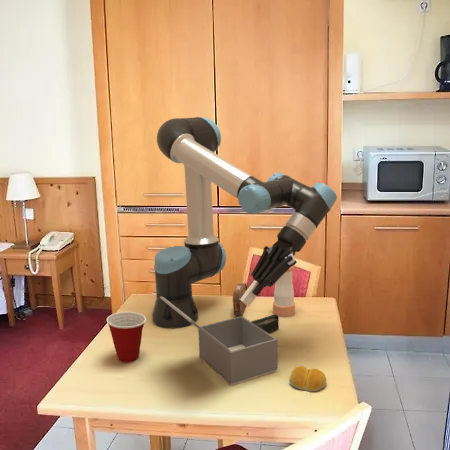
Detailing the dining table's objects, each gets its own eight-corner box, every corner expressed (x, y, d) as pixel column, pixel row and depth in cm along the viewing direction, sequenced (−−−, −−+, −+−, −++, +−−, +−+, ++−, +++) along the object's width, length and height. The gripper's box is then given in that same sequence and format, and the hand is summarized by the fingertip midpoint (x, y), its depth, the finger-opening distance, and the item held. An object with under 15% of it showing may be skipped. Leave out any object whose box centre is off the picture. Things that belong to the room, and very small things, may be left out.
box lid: (196, 323, 142) (195, 325, 142) (161, 295, 135) (159, 297, 135) (230, 350, 126) (228, 352, 126) (191, 319, 119) (189, 322, 119)
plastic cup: (149, 364, 140) (146, 323, 138) (108, 369, 139) (105, 327, 136) (148, 347, 151) (145, 308, 148) (110, 350, 149) (107, 312, 146)
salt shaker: (269, 314, 172) (268, 259, 168) (279, 307, 178) (279, 253, 174) (288, 318, 168) (288, 262, 164) (298, 311, 174) (299, 256, 169)
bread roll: (323, 395, 124) (323, 380, 123) (286, 389, 127) (286, 374, 126) (328, 378, 132) (329, 363, 131) (294, 372, 135) (294, 358, 134)
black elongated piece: (273, 312, 162) (239, 325, 152) (280, 314, 160) (246, 328, 150) (273, 327, 163) (239, 340, 153) (280, 329, 161) (246, 344, 151)
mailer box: (199, 356, 144) (198, 326, 142) (242, 344, 151) (241, 316, 149) (231, 385, 129) (230, 352, 127) (277, 371, 135) (277, 339, 133)
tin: (241, 319, 169) (240, 295, 167) (231, 318, 169) (231, 294, 168) (248, 302, 183) (248, 279, 181) (239, 302, 184) (239, 279, 182)
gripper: (318, 246, 137) (266, 318, 133) (290, 236, 148) (241, 302, 144) (302, 229, 133) (248, 303, 129) (274, 220, 144) (223, 288, 141)
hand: (244, 302), depth 137 cm, fingers closed
